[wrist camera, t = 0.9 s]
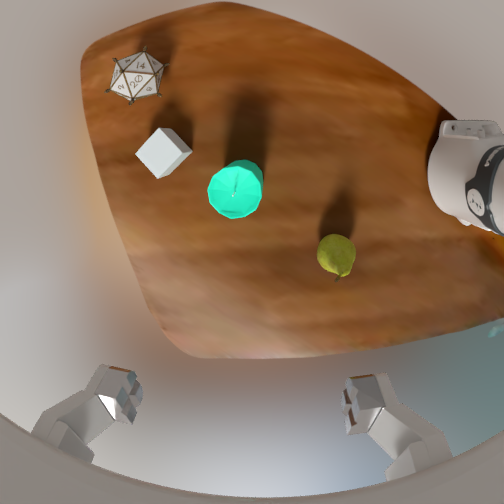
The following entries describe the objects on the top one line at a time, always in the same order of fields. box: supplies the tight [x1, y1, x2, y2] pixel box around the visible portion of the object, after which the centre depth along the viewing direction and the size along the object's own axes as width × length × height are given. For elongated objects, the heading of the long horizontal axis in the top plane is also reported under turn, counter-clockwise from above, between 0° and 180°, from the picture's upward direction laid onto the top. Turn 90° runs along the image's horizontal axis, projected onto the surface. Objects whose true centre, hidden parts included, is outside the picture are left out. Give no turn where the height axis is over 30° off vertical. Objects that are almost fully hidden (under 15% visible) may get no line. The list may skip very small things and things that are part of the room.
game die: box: [104, 46, 170, 105], centre depth 28 cm, size 9×8×10 cm
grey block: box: [136, 128, 193, 179], centre depth 35 cm, size 5×5×5 cm
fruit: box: [317, 234, 356, 282], centre depth 36 cm, size 6×6×12 cm
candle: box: [208, 160, 263, 219], centre depth 33 cm, size 6×6×12 cm
